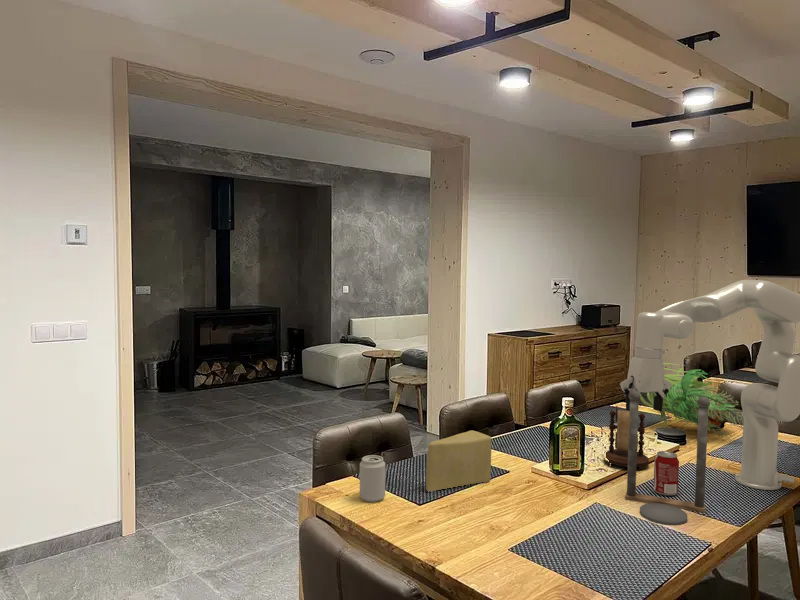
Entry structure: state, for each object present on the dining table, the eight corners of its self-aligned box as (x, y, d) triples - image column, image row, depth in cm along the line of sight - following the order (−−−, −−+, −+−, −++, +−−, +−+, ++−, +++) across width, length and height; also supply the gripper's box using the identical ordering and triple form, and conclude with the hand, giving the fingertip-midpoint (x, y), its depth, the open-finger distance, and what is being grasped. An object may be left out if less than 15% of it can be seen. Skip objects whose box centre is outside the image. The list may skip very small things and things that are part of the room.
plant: (766, 429, 224) (671, 379, 223) (701, 476, 246) (614, 431, 245) (749, 367, 251) (664, 323, 250) (693, 415, 273) (614, 374, 272)
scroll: (601, 467, 204) (603, 409, 203) (604, 454, 218) (606, 400, 216) (648, 474, 198) (650, 414, 197) (648, 460, 212) (650, 404, 211)
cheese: (437, 498, 177) (437, 447, 176) (417, 487, 185) (417, 439, 184) (492, 482, 190) (492, 435, 189) (471, 473, 198) (471, 428, 197)
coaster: (687, 511, 169) (687, 507, 169) (687, 528, 158) (687, 524, 158) (641, 503, 174) (641, 500, 174) (638, 519, 163) (638, 516, 163)
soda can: (680, 498, 178) (681, 458, 177) (655, 496, 180) (657, 456, 179) (674, 489, 185) (676, 451, 184) (651, 487, 186) (652, 449, 185)
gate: (705, 508, 171) (710, 396, 169) (705, 512, 168) (710, 398, 166) (625, 495, 180) (629, 388, 178) (624, 499, 177) (628, 391, 175)
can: (389, 495, 178) (389, 455, 178) (378, 505, 172) (378, 463, 171) (367, 491, 181) (367, 452, 181) (354, 500, 175) (355, 459, 174)
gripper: (664, 352, 186) (659, 407, 187) (615, 351, 181) (611, 408, 182) (681, 356, 179) (676, 413, 180) (631, 355, 174) (627, 414, 175)
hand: (643, 410), depth 181 cm, fingers open, 9 cm apart
